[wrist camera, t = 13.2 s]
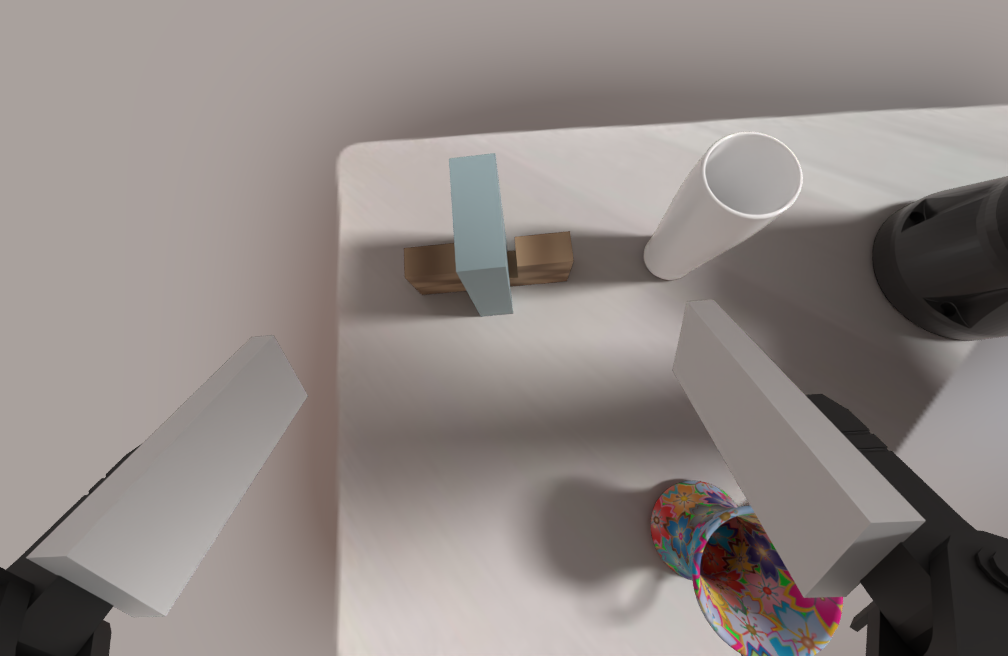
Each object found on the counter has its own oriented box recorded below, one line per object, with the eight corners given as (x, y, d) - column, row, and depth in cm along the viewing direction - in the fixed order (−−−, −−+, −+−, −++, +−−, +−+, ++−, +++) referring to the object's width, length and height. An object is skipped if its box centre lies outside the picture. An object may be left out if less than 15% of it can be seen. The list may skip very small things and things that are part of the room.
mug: (637, 476, 35) (684, 508, 24) (735, 472, 34) (826, 504, 24) (653, 616, 32) (713, 718, 22) (759, 614, 32) (871, 718, 22)
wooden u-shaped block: (563, 255, 40) (569, 231, 34) (566, 281, 39) (573, 261, 33) (421, 269, 40) (403, 248, 35) (422, 294, 40) (404, 277, 34)
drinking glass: (706, 240, 39) (816, 145, 24) (688, 297, 38) (791, 233, 23) (645, 221, 40) (715, 117, 25) (626, 275, 39) (687, 200, 24)
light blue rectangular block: (505, 236, 40) (495, 153, 27) (512, 313, 39) (505, 266, 25) (475, 239, 41) (448, 158, 27) (480, 316, 39) (456, 271, 25)
